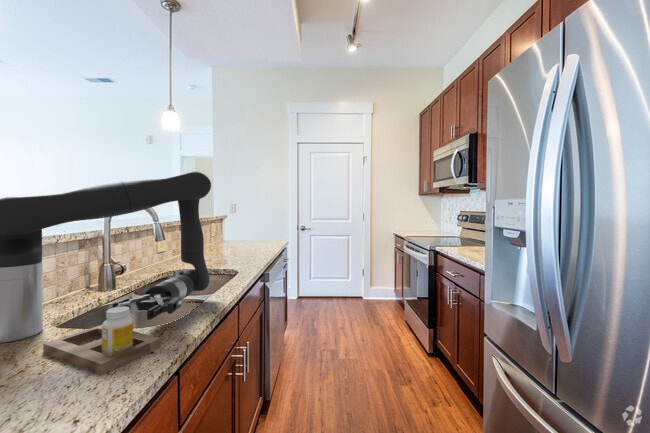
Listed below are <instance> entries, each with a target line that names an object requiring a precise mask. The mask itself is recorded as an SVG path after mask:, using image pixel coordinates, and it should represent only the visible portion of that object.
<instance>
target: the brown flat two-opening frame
mask: <svg viewBox="0 0 650 433" xmlns="http://www.w3.org/2000/svg"><path fill="white" fill-rule="evenodd" d="M94 338H95V339H96V338H99V339H97V340H95V341H92V342H91V341H90V342H89V343H86V344H83V345H78V344H81V343H83V342H87V341H89V340H92V339H94ZM42 344H43V345H42V346H43V347H42V348H43V354H45V355H48V356H51V357H53V358H56V359H58V360H62V361H63V362H67V363H70V364H71V365H74V366H76V367H80V368H82V369H85V370H88V371H90V372H93V373H96V374H98V375H100V376H101V375H104V374H106V373H108V372H110V371H112V370H115V369H117V368H118V367H121V366H123V365H125V364H127V363H129V362H131V361H134V360H136V359H138V358H141V357H142V356H144V355H147V354H149V353H151V352H154V351H155V350H157V349H160V348H161V346H162V345H161V337H158V336H153V335H151V334H150V335H149V334H145V333H142V332H137V331H135V330H133V347H131V348H129V349H126V350H124V351H122V352H119V353H117V354H115V355H112V356H108V355H105V354H102V324H101V325H97V326H93V327H90V328H88V329H85V330H81V331H78V332H75V333H72V334H69V335H66V336H63V337H61V338H57V339H54V340H50V341H47V342H44V343H42Z"/></svg>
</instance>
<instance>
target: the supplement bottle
mask: <svg viewBox="0 0 650 433" xmlns="http://www.w3.org/2000/svg"><path fill="white" fill-rule="evenodd" d="M105 314H106V315H105V318H106V320H104V321H103V323H102V324H101V325H102V338H101V339H102V354H105V355H108V356H112V355H115V354H117V353H119V352H122V351H124V350H126V349H129V348H131V347H133V331H134V319H133V317H131V316H130V314H131V313H130V309H129V307H126V306H121V307H115V308H112V307H111V308H109V309H106V313H105Z"/></svg>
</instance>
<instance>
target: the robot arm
mask: <svg viewBox="0 0 650 433" xmlns="http://www.w3.org/2000/svg"><path fill="white" fill-rule="evenodd" d="M211 188H212V182H211V180H210V178H209V177H208V176H207V175H206V174H204V173H202V172H199V171H188V172H186V173H183V174H179V175H178V174H177V175H174V176H170V177H165V178H158V179H157V178H156V179H155V178H154V179H136V180H125V181H117V182H110V183H103V184H98V185H93V186H88V187H83V188H80V189H75V190H71V191H68V192H64V193H56V194H46V195H45V194H44V195H43V194H42V195H33V196H29V195H28V196H7V197H1V198H0V343H1V344H3V343H10V342H15V341H20V340H23V339H26V338H29V337H33V336H36V335H37V334H39V333H42V332H43V330H44V316H43V315H44V312H43V310H44V305H43V302H44V301H43V300H44V298H43V293H44V292H43V291H44V290H43V289H44V288H43V230H44V229H47V228H51V227H54V226H59V225H62V224H67V223H72V222H79V221H90V220H98V219H106V218H113V217H118V216H123V215H128V214H133V213H136V212H140V211H145V210H148V209H151V208H154V207H156V206H161V205H163V204H168V203H173V202H177V204H178V211H179V212H178V213H179V222H180V224H179V225H180V260H181V262H182V263H184V264H189V265H192V267H193V268H194V269H182V270H179V271H177V272H176V274H175V275H174V276H173V277H172V278H170V279H166V280H163V281H160V282H158V283H156V284H155V285H153V286H151V287H149V288H148V289H147V290H146V292H145V293H144V294H142V295H141V296H138V297H134V298H133V296H131V295H129V296H126V297H124V298H121V299H119V300H115V301H114V302H112V306H111V308H115V307H121V306H126V307H129V309H130V313H129V314H131V315H133V314H134V315H135V314H137V313H142V312H145V313H146V319H147V320H148V321H149V320H151V321H152V320H153V319H154V318H157V317H158V316H159V315H160V316H161V315H165V313H167V314H168V315H171V314H173V313H174V312H176V311H177V310H178V309H180V308H181V307H182V301H183V300H184V299H185V298H187V297H188V296H189V295H191V293H193V292H202V291H205V290H206V289H207V288H208V287H209V284H210V279H211V278H210V277H211V276H210V274H209V270H208V268H207V264H206V260H205V255H204V254H205V253H204V252H205V246H204V245H205V241H204V240H205V239H204V232H203V228H202V224H201V220H200V213H199V212H200V209H199V208H200V200H201V199H203V198H205V197H206V196H207V195H208V194H209V193H210V191H211ZM135 306H136V309H135Z"/></svg>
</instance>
